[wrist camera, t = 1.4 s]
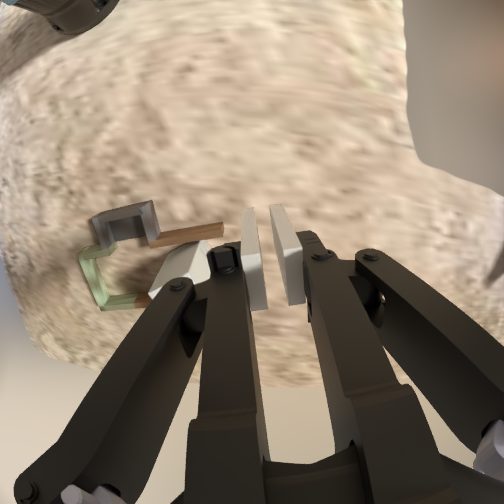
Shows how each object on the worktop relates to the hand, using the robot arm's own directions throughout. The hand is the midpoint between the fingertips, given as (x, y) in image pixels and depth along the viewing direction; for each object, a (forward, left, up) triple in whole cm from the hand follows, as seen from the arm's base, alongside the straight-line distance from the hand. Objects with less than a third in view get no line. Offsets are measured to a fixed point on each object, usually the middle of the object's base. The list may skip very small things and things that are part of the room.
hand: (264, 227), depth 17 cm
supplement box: (+14, -12, -27) cm, 32 cm away
